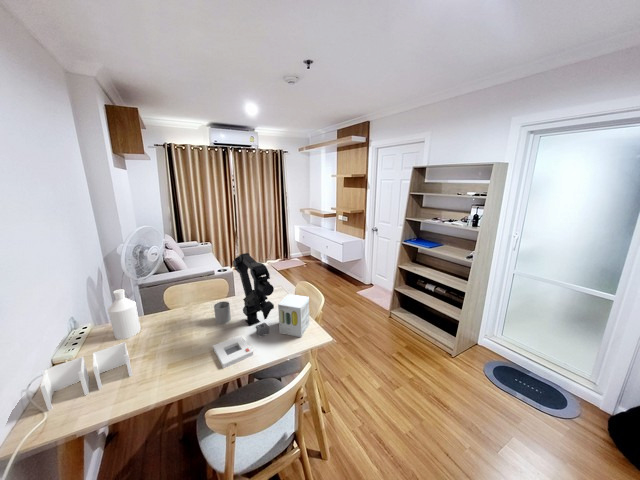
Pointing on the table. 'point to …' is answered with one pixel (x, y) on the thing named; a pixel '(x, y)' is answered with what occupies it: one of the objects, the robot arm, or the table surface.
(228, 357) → the socket plate
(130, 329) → the bottle
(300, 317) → the supplement box
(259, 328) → the plug
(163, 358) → the table surface
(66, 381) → the white u-channel brackets
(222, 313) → the cup
